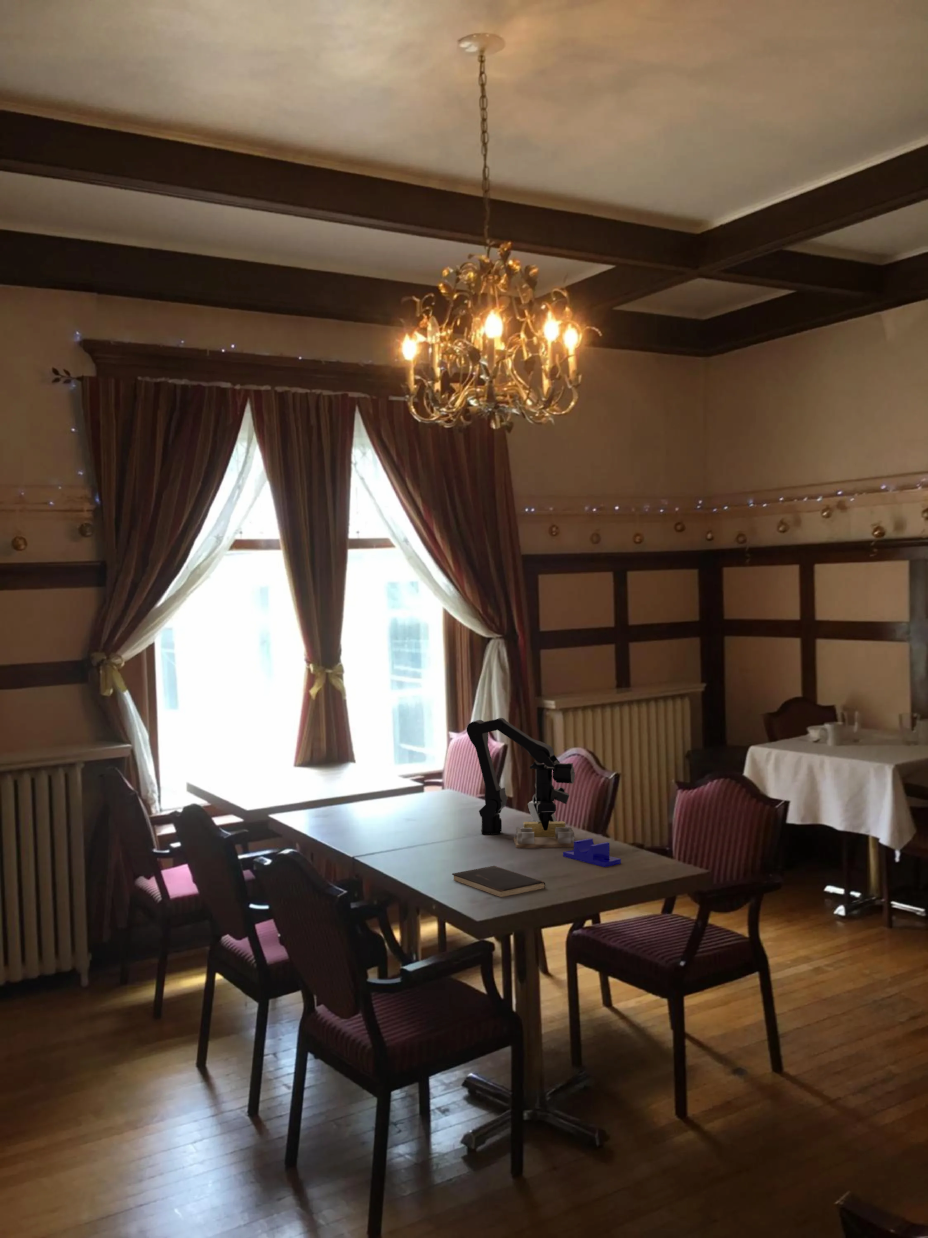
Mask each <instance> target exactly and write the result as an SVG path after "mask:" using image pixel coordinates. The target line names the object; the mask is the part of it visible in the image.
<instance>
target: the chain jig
mask: <svg viewBox="0 0 928 1238" xmlns="http://www.w3.org/2000/svg"><path fill="white" fill-rule="evenodd" d="M515 834H516V837H513V843H514V845H515V848H516V849H528V848H534V849H537V848H538V849H539V848H547V849H548V848H574V841H576V840H575V831H574V830H573V828H572V827H571V826H565V827H555V837H534V832H532V828H523V827H516V828H515Z"/></svg>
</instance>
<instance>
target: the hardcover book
mask: <svg viewBox="0 0 928 1238" xmlns="http://www.w3.org/2000/svg"><path fill="white" fill-rule="evenodd" d="M451 875H452V876H453V880H454V881H455V882H458V883H462V884H463V885H467V886H470V887H472V888H475V889H477V890H480V891H484V892H486V893H489V894H492V895H494V896H498V897H500V898H504V897H509V896H512V895H517V894H522V893H528V892H533V891H536V890H541V889H545V888H546V882H545V881H542V880H540V879H537V878H533V877H531V876H527V875H524V874H521V873H519V872H515V871H511V870H509V869H506V868H502V867H500V866H497V865H489V866H485V867H480V868H475V869H469V870H465V871H459V872H453V873H452V874H451Z"/></svg>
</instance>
